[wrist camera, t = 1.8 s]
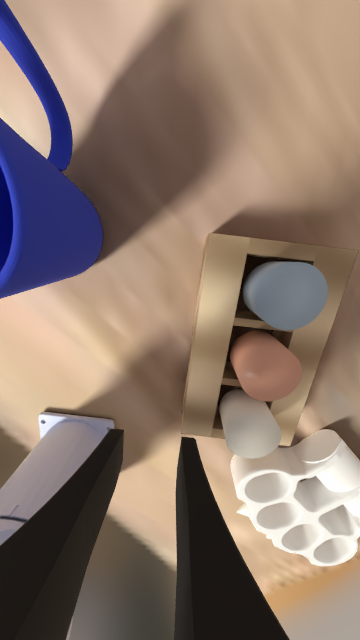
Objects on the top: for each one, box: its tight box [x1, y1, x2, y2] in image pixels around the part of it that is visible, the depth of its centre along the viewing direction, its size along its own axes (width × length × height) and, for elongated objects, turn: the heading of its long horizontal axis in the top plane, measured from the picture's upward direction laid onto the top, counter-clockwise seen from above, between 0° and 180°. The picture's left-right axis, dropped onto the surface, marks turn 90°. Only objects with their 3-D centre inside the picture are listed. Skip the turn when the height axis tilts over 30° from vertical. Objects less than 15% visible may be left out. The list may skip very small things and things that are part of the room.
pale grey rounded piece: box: [219, 388, 281, 458], centre depth 16 cm, size 4×4×3 cm
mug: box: [0, 0, 103, 299], centre depth 11 cm, size 8×12×10 cm
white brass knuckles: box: [231, 429, 360, 566], centre depth 23 cm, size 3×18×15 cm
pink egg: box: [230, 331, 302, 401], centre depth 15 cm, size 4×4×3 cm
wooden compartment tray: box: [181, 233, 359, 446], centre depth 17 cm, size 17×10×3 cm, turn 174°
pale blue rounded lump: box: [243, 262, 328, 330], centre depth 13 cm, size 4×4×3 cm
